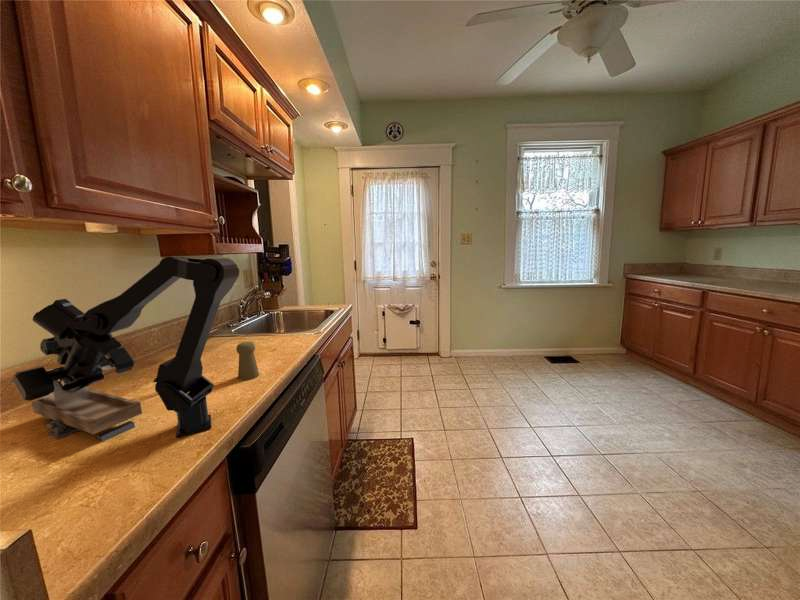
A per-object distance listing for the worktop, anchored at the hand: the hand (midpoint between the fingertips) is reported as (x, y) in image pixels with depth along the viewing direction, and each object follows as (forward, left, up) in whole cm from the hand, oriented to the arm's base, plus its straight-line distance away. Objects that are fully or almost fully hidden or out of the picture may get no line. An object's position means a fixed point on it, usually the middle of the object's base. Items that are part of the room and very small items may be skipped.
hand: (71, 391), depth 75 cm
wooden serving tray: (-4, -3, -5) cm, 7 cm away
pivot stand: (-4, -3, -7) cm, 9 cm away
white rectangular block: (+3, +2, -3) cm, 5 cm away
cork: (+5, -38, -7) cm, 39 cm away
